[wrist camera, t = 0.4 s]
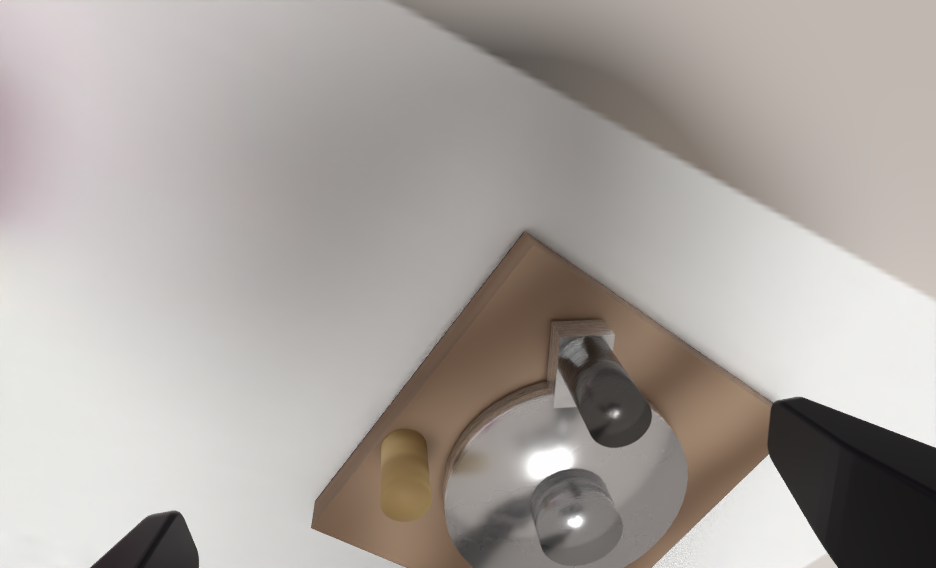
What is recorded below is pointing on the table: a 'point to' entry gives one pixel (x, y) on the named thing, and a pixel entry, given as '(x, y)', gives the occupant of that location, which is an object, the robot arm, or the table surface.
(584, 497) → the flange
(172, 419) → the table surface
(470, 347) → the base plate
